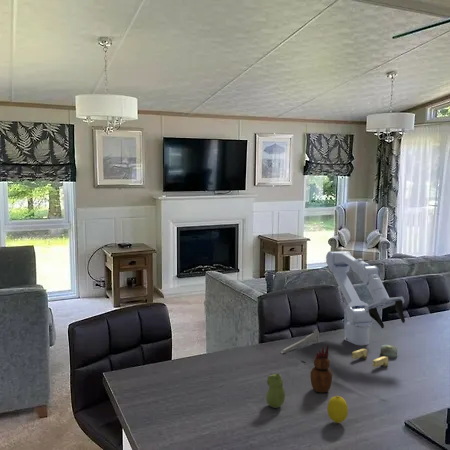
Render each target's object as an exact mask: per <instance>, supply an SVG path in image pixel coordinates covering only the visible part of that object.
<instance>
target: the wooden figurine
mask: <svg viewBox="0 0 450 450" xmlns="http://www.w3.org/2000/svg"><path fill="white" fill-rule="evenodd" d="M313 359H314V360H313V366H314V367H312V368H311V371H310V383H311V384H310V385H311V387H312V390H314V391H315V392H317V393H322V394H323V393H328V391H330V389H331V386H332V381H333V373H332V371H331V369H330V368H329V367H330V364H331V363H330V358H329V345H327V346H326V349H325V350H324V346H323V347H322V349H321V350H319V351H318V352H316V355H315V357H314V358H313Z"/></svg>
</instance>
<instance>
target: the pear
mask: <svg viewBox="0 0 450 450" xmlns="http://www.w3.org/2000/svg"><path fill="white" fill-rule="evenodd" d="M266 383H267V385H268V390H267V392H266V395H265V400H266V403H267V404H268V405H269V407H270V408H275V409H278V408H280V407H281V406H283V404H284V403H285V399H286V393H285V392H286V391H285V388H284V385H283V384H284V381H283V379H282V377H281V374H280V373H273V374H271V375H268V376H267V379H266Z"/></svg>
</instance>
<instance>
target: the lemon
mask: <svg viewBox="0 0 450 450" xmlns="http://www.w3.org/2000/svg"><path fill="white" fill-rule="evenodd" d="M348 409H349V408H348V404H347V402H346V400H345V399H344V398H343V397H342V396H339V395H336V396H332V397H331V398H330V399H329V401H328V402H327V414H328V417H329V419H330V420H332V422H334V423H336V424H339V423H342V422H344V421H345V420H346V419H347V417H348V412H349V410H348Z"/></svg>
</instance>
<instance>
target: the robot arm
mask: <svg viewBox="0 0 450 450" xmlns="http://www.w3.org/2000/svg"><path fill="white" fill-rule="evenodd" d="M325 261H326V262H325V263H326V266H327V267H328V269H329V270H330V273H331V274H333V277H334V279H335V281H336V283H337V285H338V288H339V289H340V291H341V293H342V295H343V296H344V299H345V301H346V303H347V305H346V306H345V315H346V319H347V322H346V324H345V326H344V340H345V341H347V342H349V343H351V344H354V345H356V346H368V345H369V343H370V326H372V323H373V322H374V321H375V322H376V323H377V324H378V325H379V326H380V328H381V329H384V328H385V325H384V322H383V320H382V318H381V316H380V314H379V311H378V310H382V309H385V308H388V307H391V306H394V307H395V311H396V313H397V314H398V316H399V318H400V321H401V322H402V324H405V321H406V320H405V316H404V309H403V304H405V299H404V297H403V296H402V295H401V296H396V297H390V296H389V294H388V292H387V289H386V288H385V285H384V283H383V282H382V280H381V277H380V276H381V270H380V269H379V267H378V266H377V265H370V263H368V262H365V261H364V259H363V258H357V259H356V258H355V257H354V256H352V253H351V252H350V251H349V250H344V251H343V250H342V251H341V250H340V251H339V250H338V251H328V252H327V254H326V256H325ZM350 269H351V270H352V271H353V272H354V273H355V274H356V275H358V276H359V280H360V281H361V282H362V283H363V284H364V285H365V286H366V287H367V290H368V291H369V293H370V296H371V298H372V300H373V303H371V304H369V303H366V302H365V301H363V300H361V299H360V296H359V295H358V293H357V291H356V290H355V287H354V286H353V284H352V282H351V280H350V278H349V276H348V274H347V273H348V272H349V271H350Z"/></svg>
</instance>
